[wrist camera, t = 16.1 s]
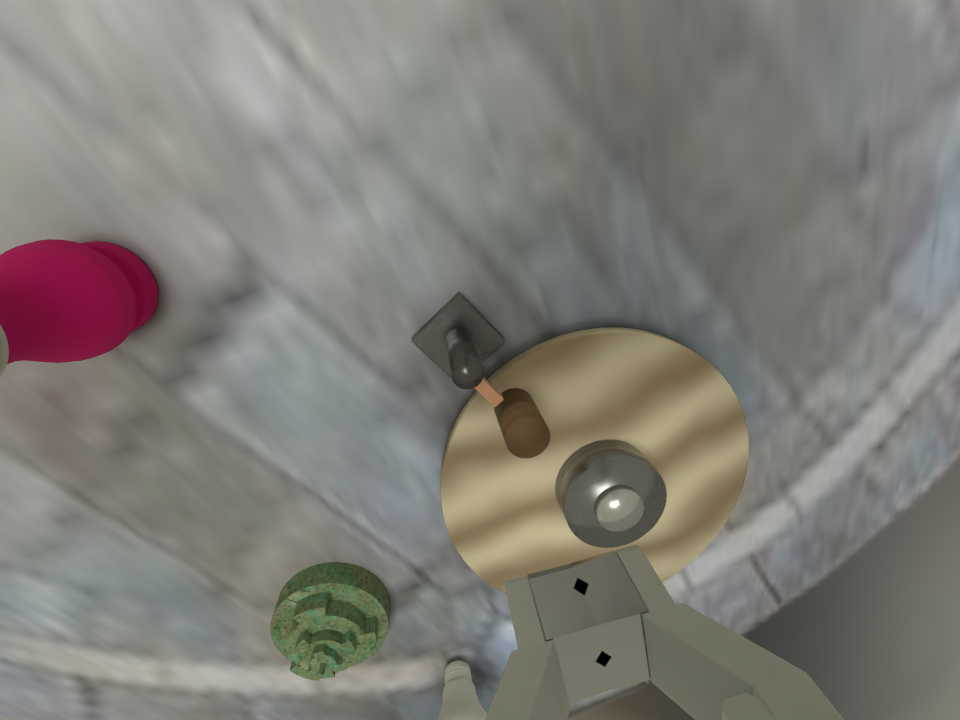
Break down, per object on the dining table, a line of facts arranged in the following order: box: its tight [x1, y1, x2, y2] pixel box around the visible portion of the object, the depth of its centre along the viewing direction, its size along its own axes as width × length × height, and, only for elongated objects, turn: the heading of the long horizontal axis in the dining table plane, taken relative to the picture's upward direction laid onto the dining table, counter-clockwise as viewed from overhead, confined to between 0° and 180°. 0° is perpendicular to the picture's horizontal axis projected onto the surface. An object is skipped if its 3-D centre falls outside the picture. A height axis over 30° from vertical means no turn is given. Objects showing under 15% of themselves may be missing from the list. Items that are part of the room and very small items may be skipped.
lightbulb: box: [437, 660, 487, 720], centre depth 43 cm, size 6×6×11 cm
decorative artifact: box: [270, 562, 390, 680], centre depth 41 cm, size 10×7×10 cm
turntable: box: [441, 327, 749, 593], centre depth 38 cm, size 26×26×6 cm
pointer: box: [412, 292, 504, 407], centre depth 33 cm, size 6×5×8 cm
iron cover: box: [555, 439, 667, 548], centre depth 38 cm, size 8×8×4 cm
